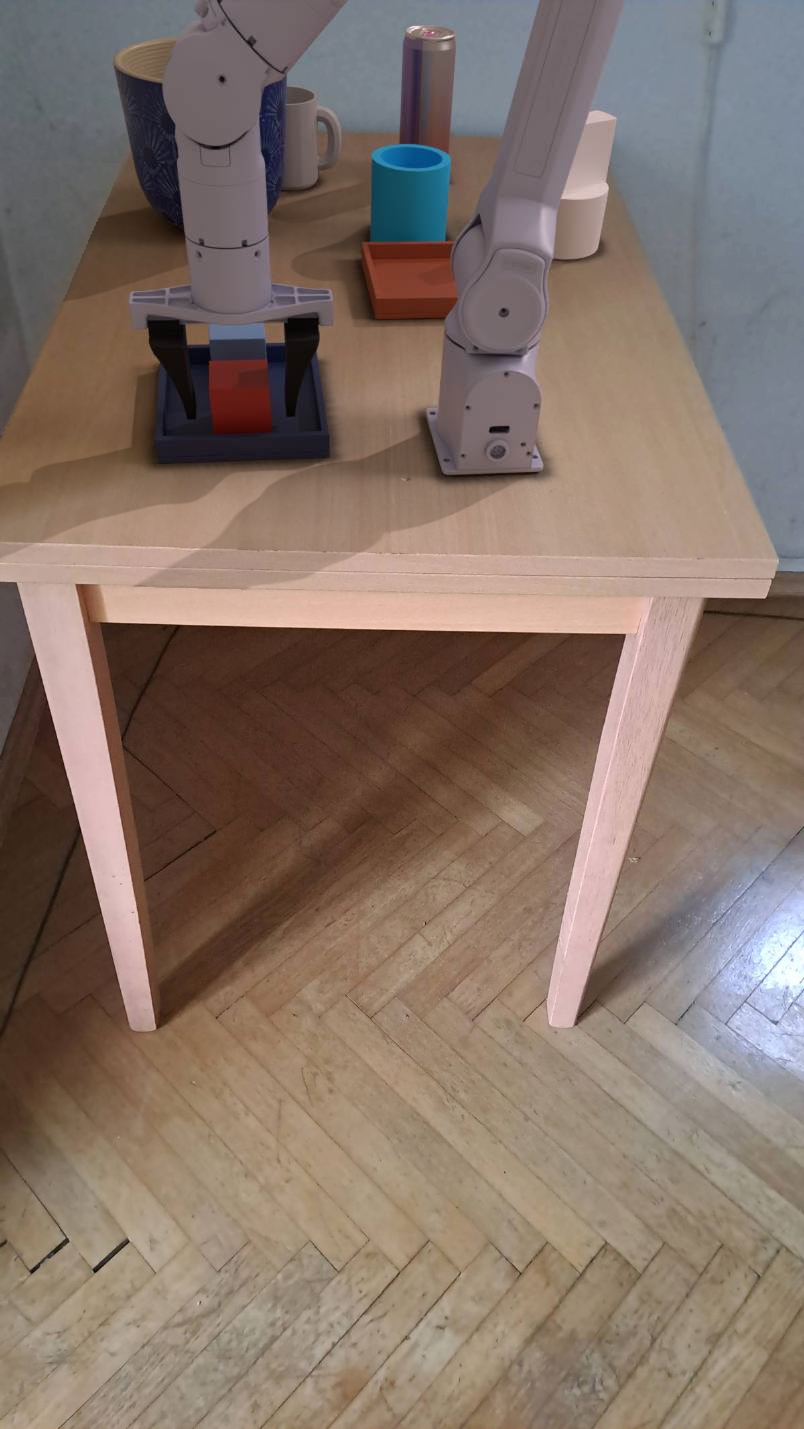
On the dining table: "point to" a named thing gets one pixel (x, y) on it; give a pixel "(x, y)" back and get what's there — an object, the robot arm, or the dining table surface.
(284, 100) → the planter
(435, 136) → the beverage can
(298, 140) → the cup
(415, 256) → the tray
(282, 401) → the blue tray
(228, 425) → the red block
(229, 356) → the blue block
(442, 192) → the mug
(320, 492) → the dining table surface
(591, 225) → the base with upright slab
